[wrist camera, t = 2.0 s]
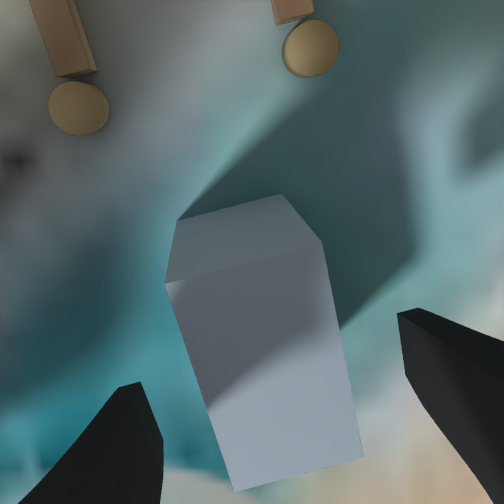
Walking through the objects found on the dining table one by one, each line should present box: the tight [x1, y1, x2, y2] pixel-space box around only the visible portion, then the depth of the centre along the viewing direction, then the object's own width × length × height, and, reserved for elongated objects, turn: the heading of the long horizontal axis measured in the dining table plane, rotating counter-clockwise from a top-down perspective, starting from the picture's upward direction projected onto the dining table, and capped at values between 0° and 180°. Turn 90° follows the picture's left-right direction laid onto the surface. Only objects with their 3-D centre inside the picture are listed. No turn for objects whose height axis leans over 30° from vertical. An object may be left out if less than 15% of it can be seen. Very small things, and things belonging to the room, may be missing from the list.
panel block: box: [165, 193, 364, 492], centre depth 15 cm, size 4×7×6 cm, turn 13°
